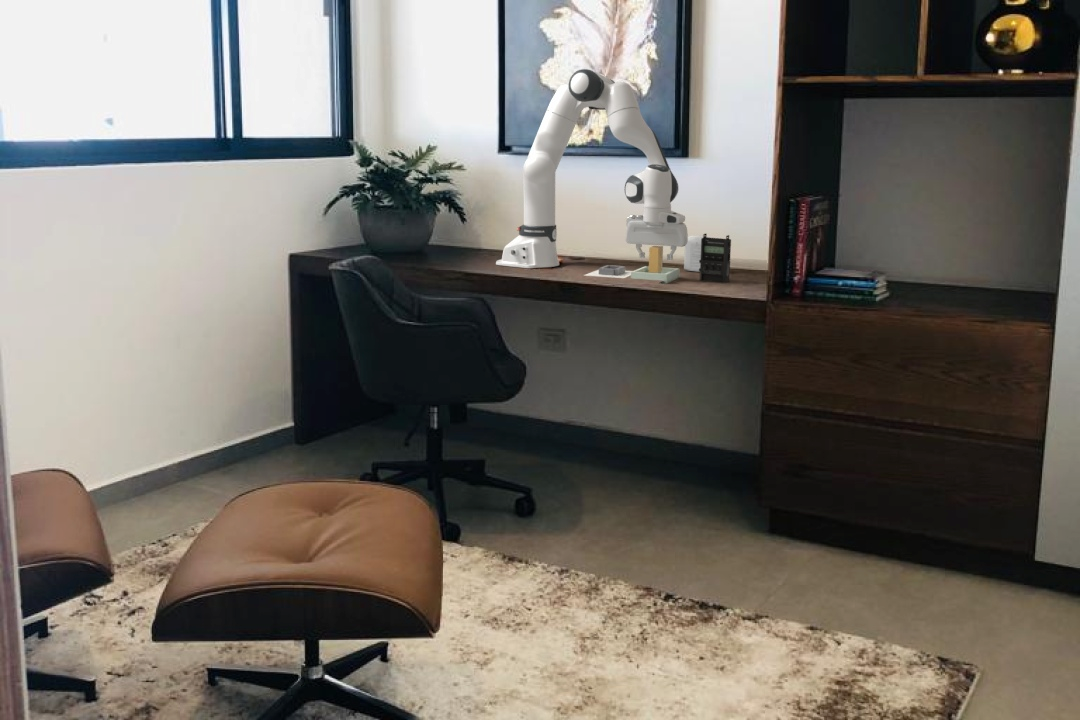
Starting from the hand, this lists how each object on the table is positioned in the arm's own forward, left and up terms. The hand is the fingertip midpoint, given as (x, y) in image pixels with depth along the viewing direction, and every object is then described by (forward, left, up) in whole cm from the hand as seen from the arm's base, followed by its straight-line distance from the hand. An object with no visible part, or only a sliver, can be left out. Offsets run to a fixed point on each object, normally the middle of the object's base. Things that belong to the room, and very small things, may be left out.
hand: (655, 258), depth 359 cm
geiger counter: (+18, +5, -7) cm, 20 cm away
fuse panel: (-15, 0, -7) cm, 16 cm away
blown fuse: (0, 0, -6) cm, 6 cm away
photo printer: (+8, +23, -7) cm, 25 cm away
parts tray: (0, 0, -7) cm, 7 cm away
